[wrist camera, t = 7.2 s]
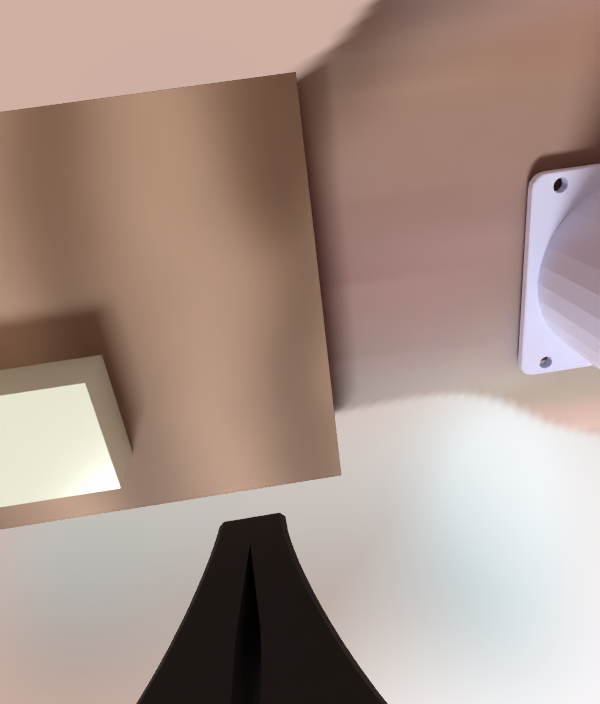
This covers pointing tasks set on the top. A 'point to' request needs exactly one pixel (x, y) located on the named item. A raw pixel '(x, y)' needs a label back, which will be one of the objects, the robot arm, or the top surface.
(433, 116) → the top surface
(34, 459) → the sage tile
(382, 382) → the top surface
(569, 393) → the top surface
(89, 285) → the plate
